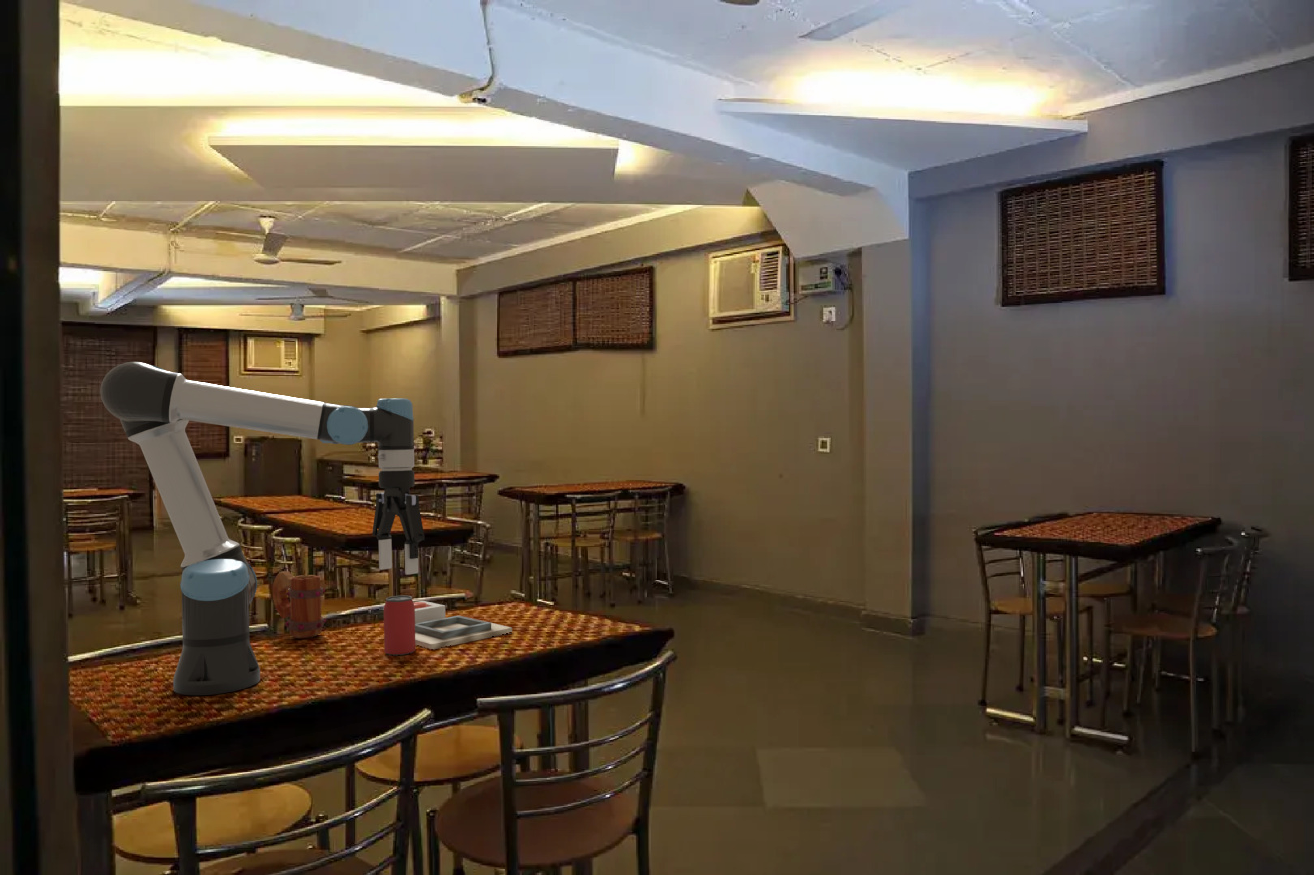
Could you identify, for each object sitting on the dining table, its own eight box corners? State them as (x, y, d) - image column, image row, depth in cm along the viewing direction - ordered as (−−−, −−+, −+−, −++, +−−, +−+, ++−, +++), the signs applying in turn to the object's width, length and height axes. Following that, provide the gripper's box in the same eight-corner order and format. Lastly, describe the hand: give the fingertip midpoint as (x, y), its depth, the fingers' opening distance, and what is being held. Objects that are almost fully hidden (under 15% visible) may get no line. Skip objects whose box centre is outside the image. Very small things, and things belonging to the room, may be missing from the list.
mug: (334, 634, 223) (332, 571, 222) (306, 642, 215) (305, 577, 215) (290, 629, 229) (289, 568, 229) (263, 636, 222) (261, 573, 222)
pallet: (431, 649, 206) (431, 637, 206) (389, 637, 218) (389, 626, 218) (512, 632, 222) (511, 621, 222) (468, 622, 234) (468, 611, 234)
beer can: (382, 651, 205) (381, 596, 205) (412, 647, 208) (411, 594, 208) (387, 657, 199) (385, 601, 199) (418, 654, 202) (417, 598, 202)
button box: (409, 632, 223) (409, 611, 223) (388, 626, 230) (387, 606, 230) (445, 625, 231) (445, 605, 231) (423, 620, 238) (423, 600, 238)
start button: (413, 621, 227) (413, 606, 227) (402, 618, 230) (402, 604, 230) (430, 617, 231) (430, 603, 231) (419, 615, 234) (419, 601, 234)
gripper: (354, 469, 208) (356, 568, 209) (409, 471, 193) (411, 578, 193) (385, 467, 214) (387, 564, 214) (440, 469, 198) (442, 574, 198)
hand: (398, 571), depth 203 cm, fingers open, 10 cm apart
